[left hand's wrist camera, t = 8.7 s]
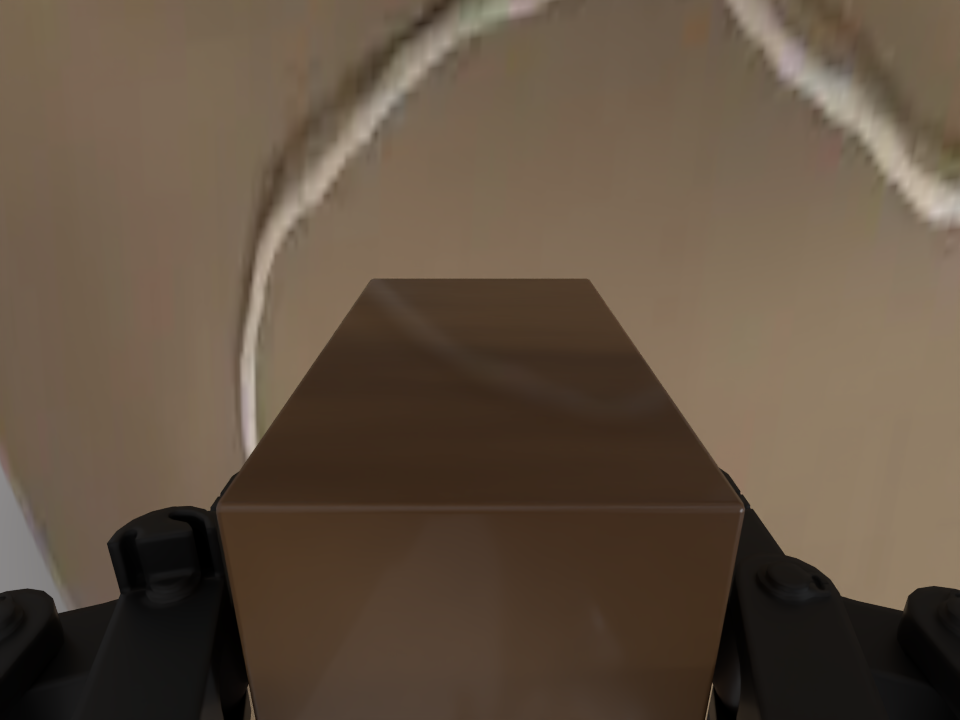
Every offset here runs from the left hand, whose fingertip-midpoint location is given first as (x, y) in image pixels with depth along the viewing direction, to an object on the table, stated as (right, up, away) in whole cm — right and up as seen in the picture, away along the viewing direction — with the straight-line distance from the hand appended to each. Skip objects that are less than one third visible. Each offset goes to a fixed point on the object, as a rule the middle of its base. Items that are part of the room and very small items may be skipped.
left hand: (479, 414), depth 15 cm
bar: (0, -9, +4) cm, 9 cm away
